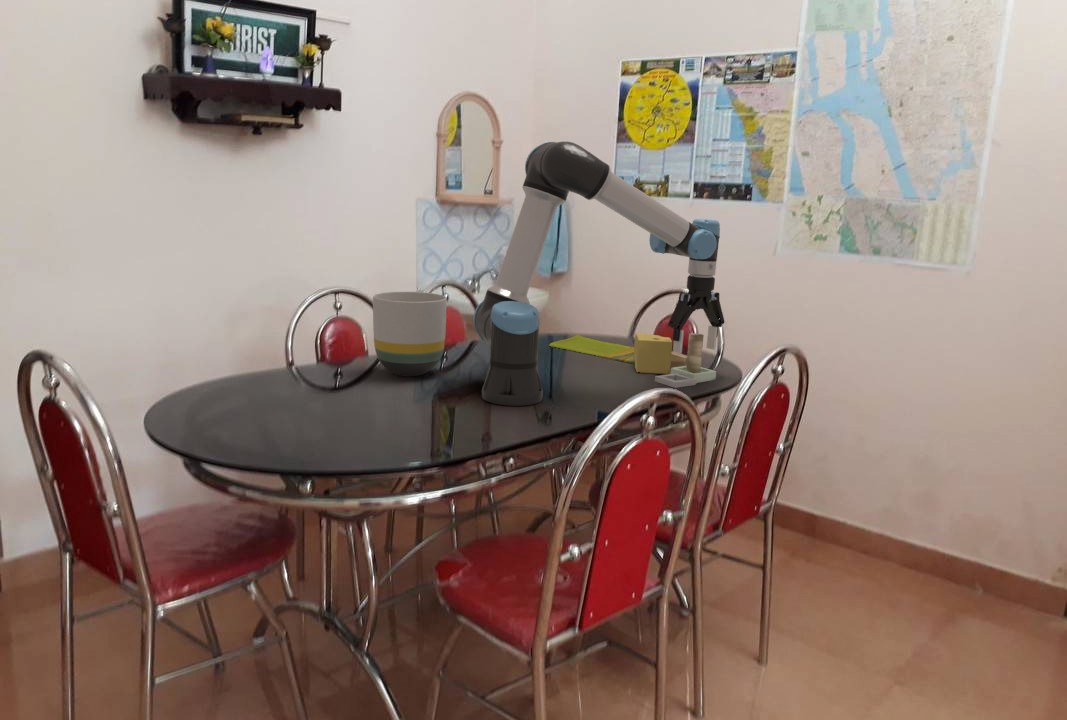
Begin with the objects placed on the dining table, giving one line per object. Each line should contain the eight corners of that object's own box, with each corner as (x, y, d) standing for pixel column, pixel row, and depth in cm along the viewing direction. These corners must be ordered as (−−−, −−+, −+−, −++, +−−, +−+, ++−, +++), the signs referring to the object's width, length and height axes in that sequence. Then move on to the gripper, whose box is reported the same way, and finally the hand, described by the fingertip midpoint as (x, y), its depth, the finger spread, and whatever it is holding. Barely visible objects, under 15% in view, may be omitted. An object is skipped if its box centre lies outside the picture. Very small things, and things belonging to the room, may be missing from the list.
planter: (423, 363, 242) (424, 290, 237) (458, 378, 226) (460, 299, 222) (360, 370, 230) (360, 293, 226) (393, 385, 215) (393, 303, 210)
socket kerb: (675, 387, 226) (675, 382, 226) (654, 381, 232) (655, 376, 232) (696, 384, 231) (696, 379, 230) (675, 378, 237) (675, 373, 236)
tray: (693, 383, 232) (694, 374, 231) (670, 376, 239) (670, 367, 239) (715, 379, 237) (716, 371, 237) (692, 373, 244) (692, 364, 244)
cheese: (667, 367, 251) (669, 334, 249) (670, 375, 241) (673, 341, 239) (632, 365, 252) (634, 332, 250) (634, 373, 241) (637, 339, 239)
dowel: (682, 375, 239) (686, 333, 236) (693, 373, 241) (696, 333, 238) (692, 378, 235) (695, 336, 233) (702, 377, 237) (706, 335, 235)
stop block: (683, 370, 247) (684, 357, 246) (659, 364, 255) (660, 351, 254) (690, 369, 249) (691, 356, 248) (666, 363, 257) (667, 350, 256)
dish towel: (639, 367, 252) (640, 356, 251) (547, 348, 274) (548, 338, 273) (666, 360, 263) (667, 350, 263) (576, 342, 286) (576, 333, 285)
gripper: (679, 278, 222) (672, 356, 226) (741, 276, 236) (734, 349, 241) (659, 274, 228) (653, 351, 232) (721, 273, 242) (714, 345, 247)
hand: (694, 350), depth 236 cm, fingers open, 13 cm apart
